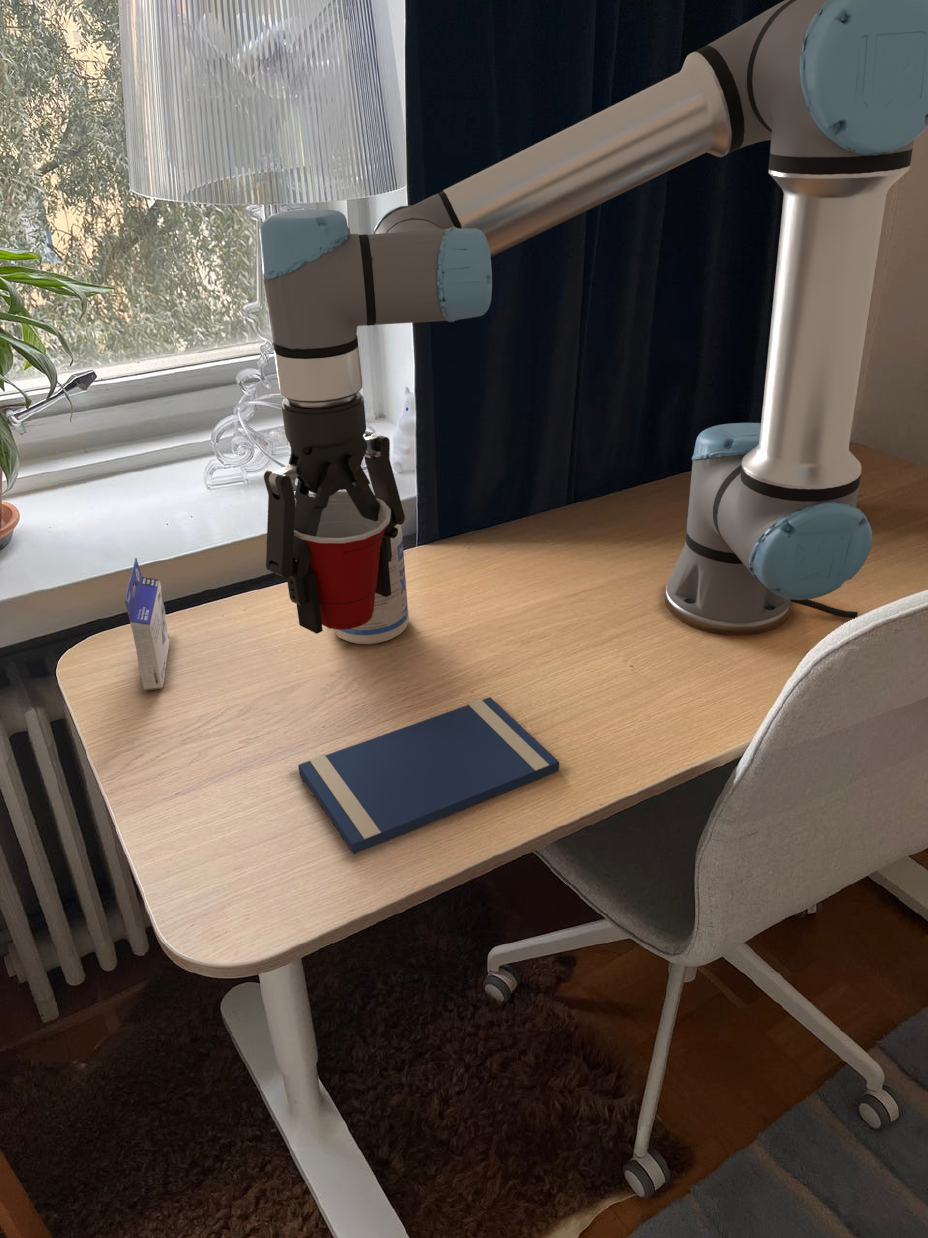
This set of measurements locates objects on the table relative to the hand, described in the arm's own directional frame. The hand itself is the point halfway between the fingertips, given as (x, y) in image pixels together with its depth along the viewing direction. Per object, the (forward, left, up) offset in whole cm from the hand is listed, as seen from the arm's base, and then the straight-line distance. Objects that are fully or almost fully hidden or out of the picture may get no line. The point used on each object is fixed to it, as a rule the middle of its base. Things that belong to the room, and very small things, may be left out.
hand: (346, 609), depth 99 cm
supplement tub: (+3, -16, -12) cm, 20 cm away
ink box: (+25, -3, -12) cm, 28 cm away
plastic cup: (0, 0, -1) cm, 1 cm away
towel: (-11, +10, -12) cm, 19 cm away
